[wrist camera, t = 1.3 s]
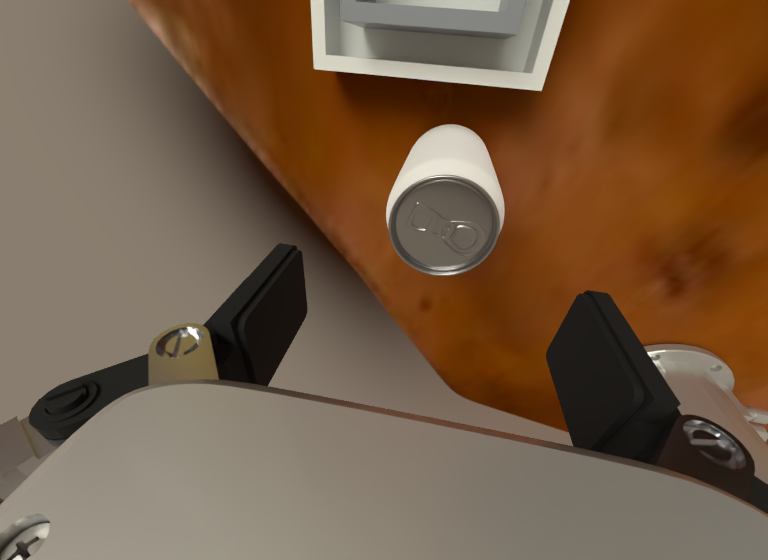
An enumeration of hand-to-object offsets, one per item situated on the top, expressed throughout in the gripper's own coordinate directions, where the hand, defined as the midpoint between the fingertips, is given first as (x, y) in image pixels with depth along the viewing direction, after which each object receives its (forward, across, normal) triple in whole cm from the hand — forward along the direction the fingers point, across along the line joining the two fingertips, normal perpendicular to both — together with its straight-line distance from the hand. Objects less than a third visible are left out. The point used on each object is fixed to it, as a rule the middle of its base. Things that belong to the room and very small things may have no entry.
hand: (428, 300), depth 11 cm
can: (+18, -1, 0) cm, 18 cm away
